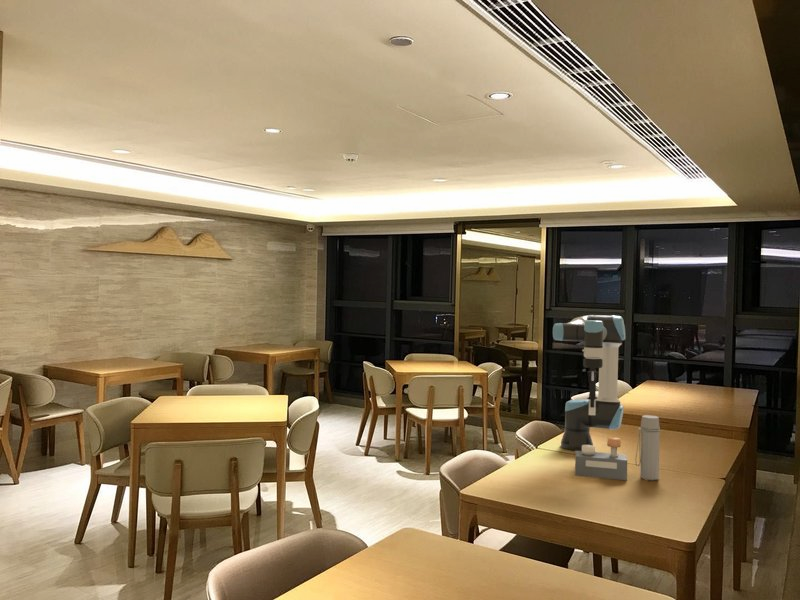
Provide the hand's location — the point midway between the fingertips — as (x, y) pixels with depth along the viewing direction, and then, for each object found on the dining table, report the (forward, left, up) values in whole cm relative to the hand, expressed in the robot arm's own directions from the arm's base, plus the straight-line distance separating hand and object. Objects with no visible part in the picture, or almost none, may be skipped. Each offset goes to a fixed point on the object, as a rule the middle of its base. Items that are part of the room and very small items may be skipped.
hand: (592, 414), depth 264 cm
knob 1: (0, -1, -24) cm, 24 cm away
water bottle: (-1, +22, -25) cm, 33 cm away
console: (0, +4, -24) cm, 25 cm away
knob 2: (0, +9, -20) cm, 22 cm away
